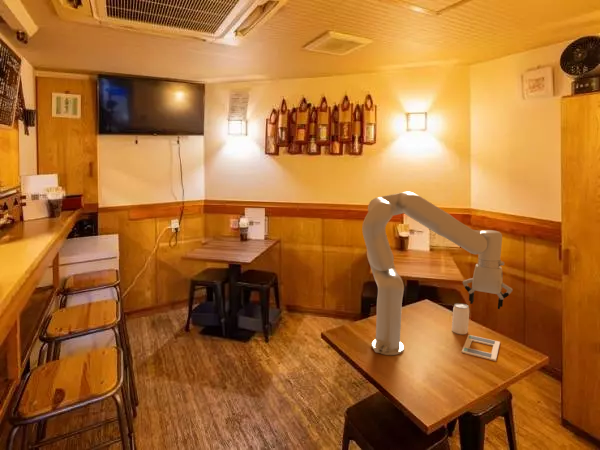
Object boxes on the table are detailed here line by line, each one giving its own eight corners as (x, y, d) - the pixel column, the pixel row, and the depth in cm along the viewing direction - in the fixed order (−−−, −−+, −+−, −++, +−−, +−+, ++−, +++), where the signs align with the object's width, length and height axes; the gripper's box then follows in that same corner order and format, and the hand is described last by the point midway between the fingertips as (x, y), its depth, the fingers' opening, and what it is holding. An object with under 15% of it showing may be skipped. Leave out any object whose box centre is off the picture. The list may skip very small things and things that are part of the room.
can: (464, 328, 169) (466, 302, 166) (469, 335, 162) (471, 308, 160) (449, 327, 169) (451, 302, 167) (454, 334, 163) (455, 308, 161)
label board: (495, 361, 142) (496, 359, 142) (461, 352, 149) (461, 350, 148) (499, 343, 156) (500, 341, 155) (468, 335, 162) (468, 334, 162)
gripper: (515, 263, 142) (511, 306, 146) (466, 257, 152) (463, 297, 155) (513, 269, 136) (509, 313, 140) (462, 262, 146) (459, 304, 149)
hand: (485, 305), depth 147 cm, fingers open, 9 cm apart
